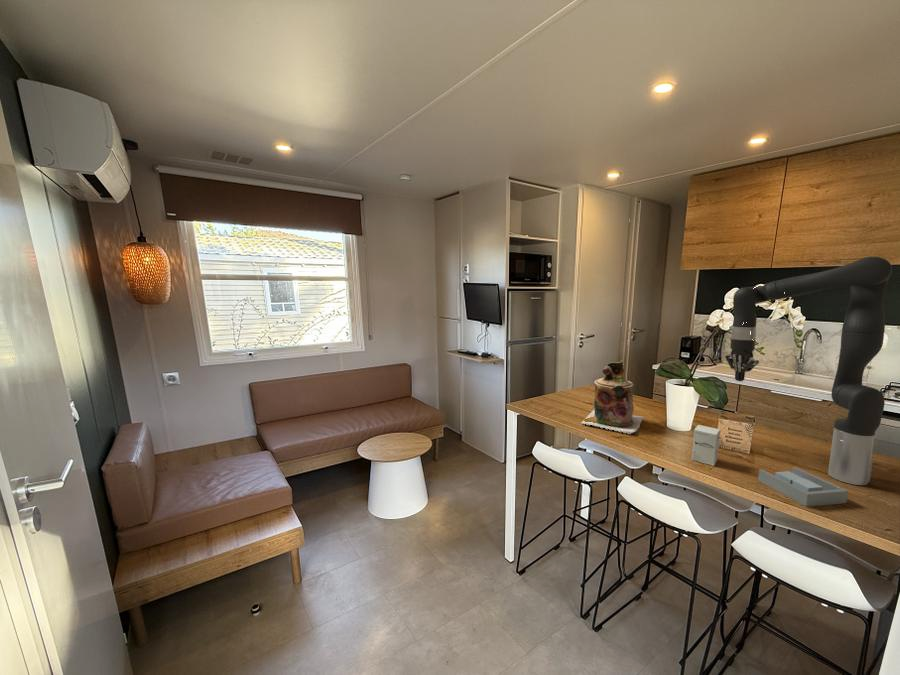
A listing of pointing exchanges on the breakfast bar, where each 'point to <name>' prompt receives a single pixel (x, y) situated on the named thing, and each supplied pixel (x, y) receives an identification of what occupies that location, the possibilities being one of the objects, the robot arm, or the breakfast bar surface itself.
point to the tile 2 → (806, 485)
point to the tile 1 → (787, 476)
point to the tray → (813, 498)
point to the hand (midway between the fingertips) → (739, 380)
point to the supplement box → (705, 444)
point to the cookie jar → (614, 401)
